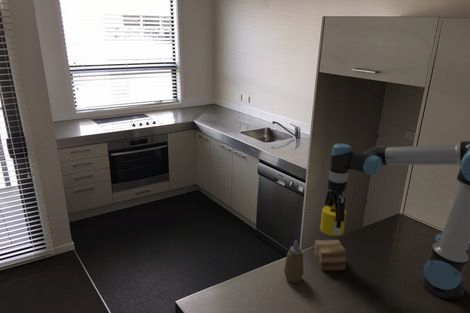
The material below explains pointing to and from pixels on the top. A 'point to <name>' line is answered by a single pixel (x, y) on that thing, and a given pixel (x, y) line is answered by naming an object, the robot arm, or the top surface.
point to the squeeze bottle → (294, 264)
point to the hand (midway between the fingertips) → (332, 227)
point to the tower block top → (330, 251)
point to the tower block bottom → (329, 264)
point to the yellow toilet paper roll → (330, 221)
